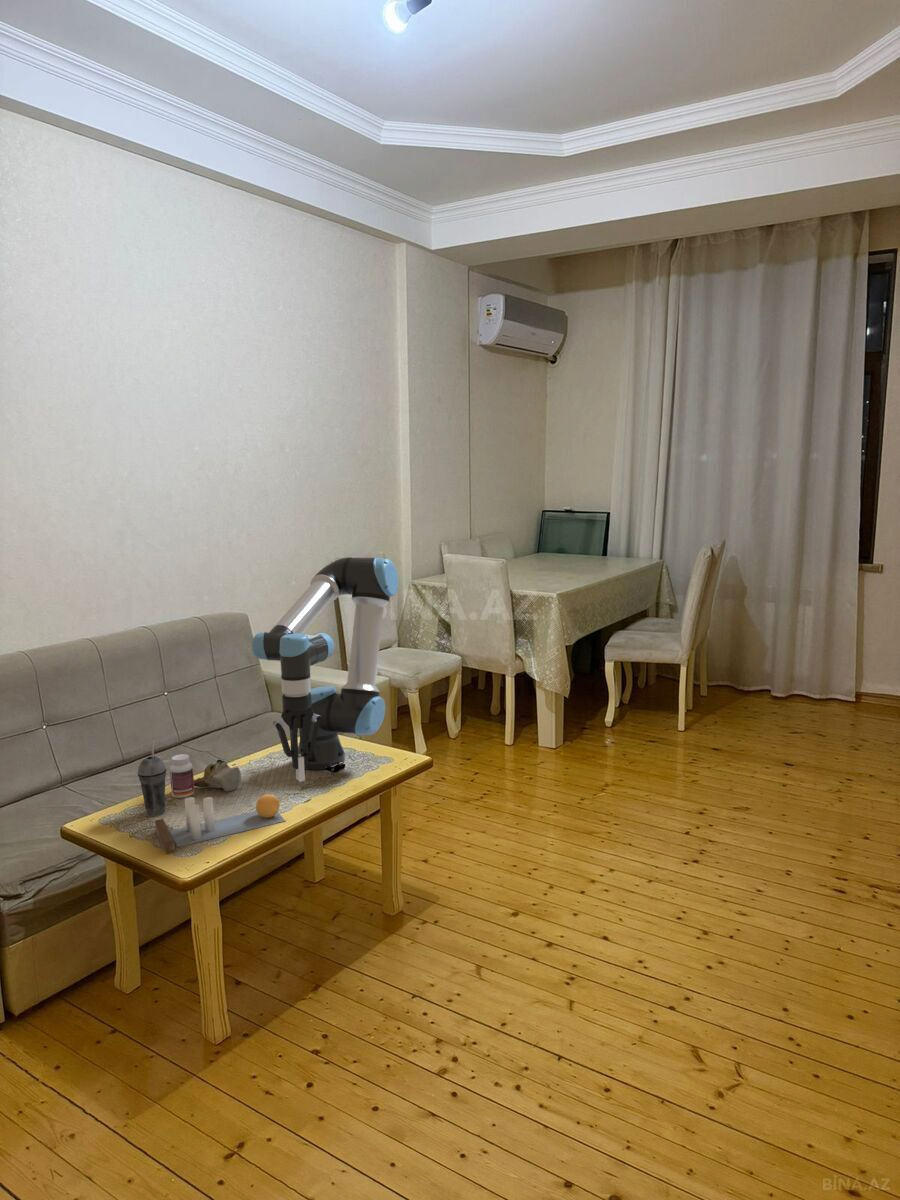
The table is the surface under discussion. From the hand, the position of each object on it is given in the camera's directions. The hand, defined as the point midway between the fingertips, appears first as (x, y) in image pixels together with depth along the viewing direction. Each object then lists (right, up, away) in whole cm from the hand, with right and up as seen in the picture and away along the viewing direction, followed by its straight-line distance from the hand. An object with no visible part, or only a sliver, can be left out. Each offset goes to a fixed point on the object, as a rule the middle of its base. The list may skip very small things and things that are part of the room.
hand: (300, 779), depth 212 cm
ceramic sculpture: (-27, -7, +18) cm, 33 cm away
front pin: (-21, -11, -10) cm, 26 cm away
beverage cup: (-39, -9, +1) cm, 40 cm away
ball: (-8, -6, -3) cm, 11 cm away
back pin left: (-23, -11, -14) cm, 29 cm away
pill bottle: (-36, -7, +13) cm, 39 cm away
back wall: (-30, -12, -15) cm, 36 cm away
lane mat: (-17, -10, -8) cm, 21 cm away
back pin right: (-26, -11, -10) cm, 29 cm away
